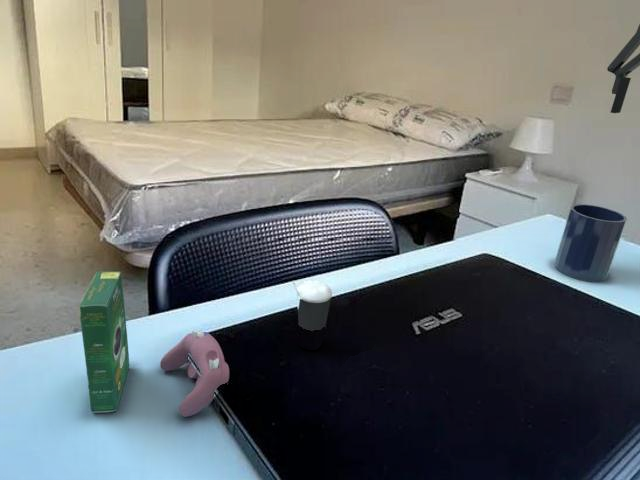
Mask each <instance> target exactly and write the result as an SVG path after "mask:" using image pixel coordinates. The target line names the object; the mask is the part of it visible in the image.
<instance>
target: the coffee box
mask: <svg viewBox="0 0 640 480" xmlns="http://www.w3.org/2000/svg"><path fill="white" fill-rule="evenodd" d="M78 314H79V320H80V328H81V336H82V343H83V353H84V360H85V361H84V362H85V367H86V370H85V371H86V376H87V387H88V395H89V402H90V411H91V413H93V414H99V413H100V414H102V413H105V414H106V413H113V412H115V411H118V409H119V404H120V402H121V399H122V394H123V390H124V386H125V383H126V380H127V376H128V373H129V369H130V352H129V342H128V330H127V320H126V311H125V298H124V289H123V277H122V271H120V270H118V271H117V270H116V271H115V270H113V271H112V270H110V271H107V270H106V271H103V270H101V271H96V272H95V275H94V276H93V279H92V281H91V282H90V284H89V286H88V288H87V290H86V291H85V293H84V295H83V296H82V299H81V301H80V303H79V305H78Z"/></svg>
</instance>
